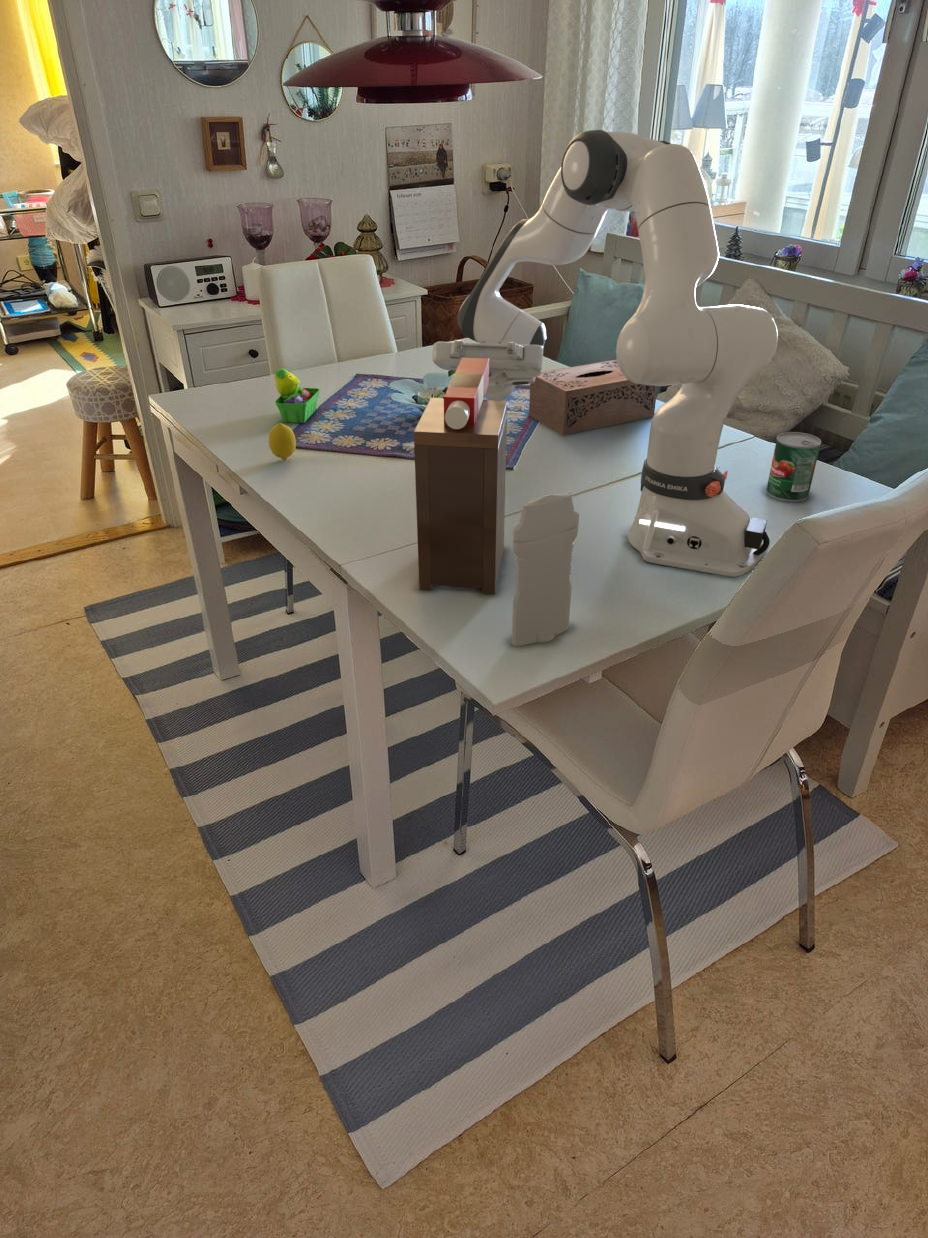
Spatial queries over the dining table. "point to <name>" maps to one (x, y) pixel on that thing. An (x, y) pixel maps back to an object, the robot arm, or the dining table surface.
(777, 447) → the canned tomato
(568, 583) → the tall pale column
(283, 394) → the fruit basket
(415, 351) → the dining table surface
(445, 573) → the walnut stand
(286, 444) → the lemon
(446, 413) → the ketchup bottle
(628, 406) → the tissue box cover
